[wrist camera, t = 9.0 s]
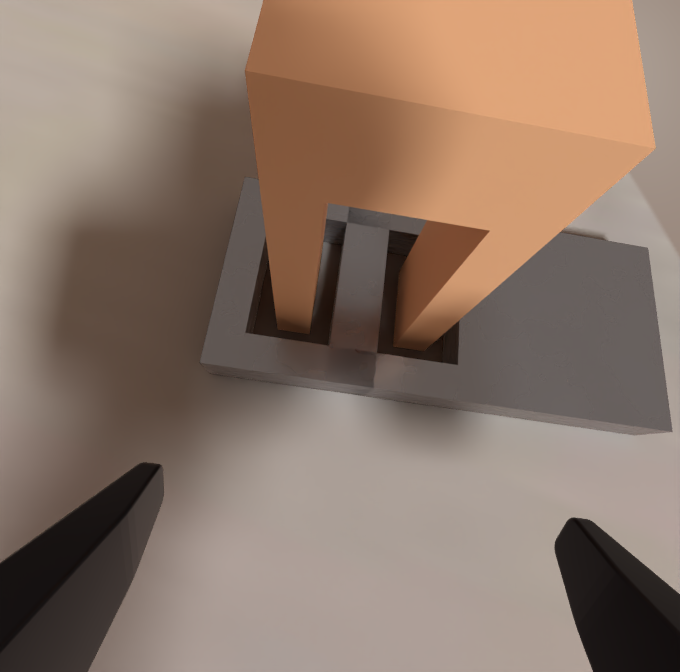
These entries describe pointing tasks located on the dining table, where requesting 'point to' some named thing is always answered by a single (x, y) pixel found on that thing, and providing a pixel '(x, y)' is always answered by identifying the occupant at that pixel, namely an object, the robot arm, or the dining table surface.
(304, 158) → the clip
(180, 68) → the dining table surface
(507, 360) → the gray slotted base
